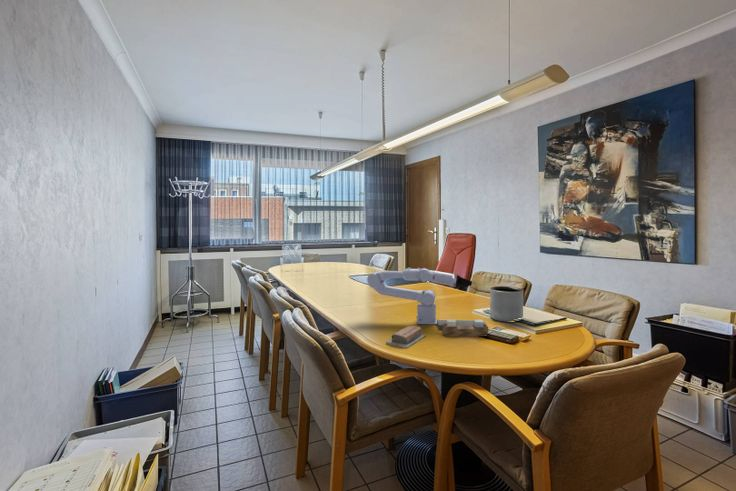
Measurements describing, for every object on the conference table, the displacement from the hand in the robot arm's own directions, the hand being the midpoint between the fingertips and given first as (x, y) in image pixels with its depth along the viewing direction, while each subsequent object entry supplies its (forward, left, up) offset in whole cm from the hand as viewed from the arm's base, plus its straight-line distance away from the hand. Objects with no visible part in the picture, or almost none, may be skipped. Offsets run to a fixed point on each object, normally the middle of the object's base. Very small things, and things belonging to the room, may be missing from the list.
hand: (471, 283), depth 177 cm
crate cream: (-11, -15, -17) cm, 26 cm away
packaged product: (-31, -25, -21) cm, 45 cm away
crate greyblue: (+1, -15, -17) cm, 23 cm away
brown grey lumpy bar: (-5, -15, -21) cm, 26 cm away
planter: (+20, +13, -21) cm, 31 cm away
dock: (-5, -4, -20) cm, 21 cm away
